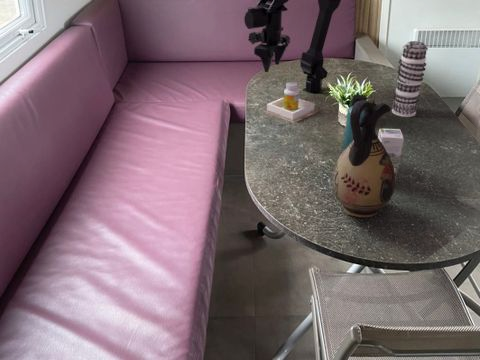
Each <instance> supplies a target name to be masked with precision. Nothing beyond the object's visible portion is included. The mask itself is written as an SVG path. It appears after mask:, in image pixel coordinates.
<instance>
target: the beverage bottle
mask: <svg viewBox="0 0 480 360" xmlns="http://www.w3.org/2000/svg"><path fill="white" fill-rule="evenodd" d="M361 100H367V101H368V97H367V95H365V94H361V93H360V94H354V95H353V96H352V100H351V104H352V105H351V106H350V107H349V108H347V111H346V112H347V113H346V121H345V127H344V135H343V136H344V139H343V146H342V148H343V149H342V153H343V152H344V150H345V149H346V148H347V147H348V146H349V145H350V143H351V142H352V141H353V134H352V129H351V124H350V116H351V111H352V107H353V105H354V104H355V103H356V102H358V101H361ZM363 115H364V111H362V112H361V115H360V121H361V119H362V116H363ZM360 121H359V122H360ZM360 129H362V127H360Z"/></svg>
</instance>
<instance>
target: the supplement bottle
mask: <svg viewBox="0 0 480 360" xmlns="http://www.w3.org/2000/svg"><path fill="white" fill-rule="evenodd" d="M285 87H286V88H284V90H283V97H284V100H283V109H286V110H289V111H291V112H294V111H296V110H298V102H299V99H300V90H299V89H298V83H297V82H296V81H287V82H286V83H285Z"/></svg>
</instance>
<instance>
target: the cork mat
mask: <svg viewBox="0 0 480 360" xmlns="http://www.w3.org/2000/svg"><path fill="white" fill-rule="evenodd" d="M263 112H264V113H267V114H269V115H271V116H274V117H277V118H280V119H283V120H285V121H288V122H290V123H293V124H296V123H297V122H299V121H301V120H304V119H306V118H308V117H309V116H312V115H314V114H316V113H318V112H319V110H316V109H314V112H312V113H310V114H308V115H306V116H304V117H302V118H299V119H297V120H295V121H293V122H292V121H290V120H287V119H284V118H282V117H279V116H276V115H274V114H271V113H268V112H267V109H266V110H264V111H263Z"/></svg>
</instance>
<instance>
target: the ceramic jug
mask: <svg viewBox="0 0 480 360" xmlns="http://www.w3.org/2000/svg"><path fill="white" fill-rule="evenodd" d="M352 106H353V107H352V111H351V116H350V124H351V129H352V134H353V141H352V142H351V143H350V145H349V146H348V147H347V148H346V149H345V150H344V152H343V151H342V153H341V154H340V156H339V157H338V159H337V160H336V162H335V165H334V167H333V170H332V171H333V172H332V175H331V176H332V177H331V186H332V190H333V193H334V196H335V197H336V199H337V201H339V203H340V204H341V205H342V208H343V210H344V212H345V214H347V215H349V216H352V217H357V218H372V217H375V216H376V215H378V214H380V212H381V210H380V209H382V208H383V207H384V206H386V204H387V203H388V202H389V201H390V200H391V198H392V197H393V195H394V192H395V189H396V181H395V172H394V167H393V164H392V161H391V159H390V157H389V155H388V153H387V151H386V149H385V147H384V146H383V144H382V143H381V141H380V140H379V138H378V135H377V132H376V126H377V122H378V120H380V118H381V117H382V116H384V115H385V114H387V113H389V112H391V111H392V109H391V106H389V105H387V104H386V103H384V102H380V103H378V104H377V103H376V102H375V100H373V99H371V100H370V101H369V100H368V99H367V100H361V101H358V102H356V103H355V104H352ZM362 111H364V115H363V116H362V119H361V121H360V115H361V112H362ZM359 121H360V122H359ZM360 127H362V129H360Z"/></svg>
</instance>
